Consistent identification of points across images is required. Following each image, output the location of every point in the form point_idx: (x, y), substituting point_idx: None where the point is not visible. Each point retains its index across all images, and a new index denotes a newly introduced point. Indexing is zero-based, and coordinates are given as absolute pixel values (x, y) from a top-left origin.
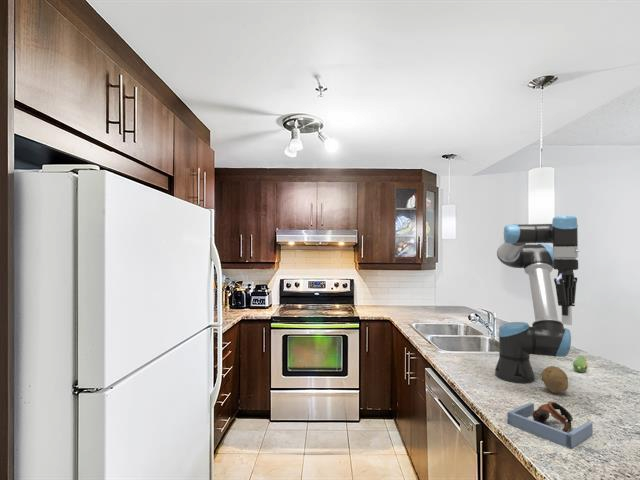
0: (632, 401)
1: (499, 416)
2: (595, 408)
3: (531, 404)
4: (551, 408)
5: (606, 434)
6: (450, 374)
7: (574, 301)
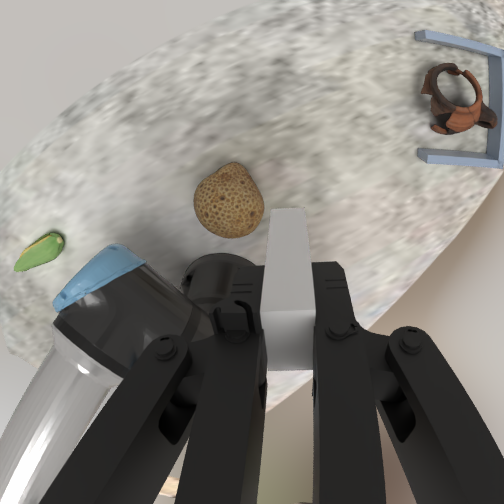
0: (117, 75)
1: (474, 185)
2: (249, 82)
3: (436, 155)
4: (481, 100)
5: (386, 14)
6: None
7: (149, 356)
